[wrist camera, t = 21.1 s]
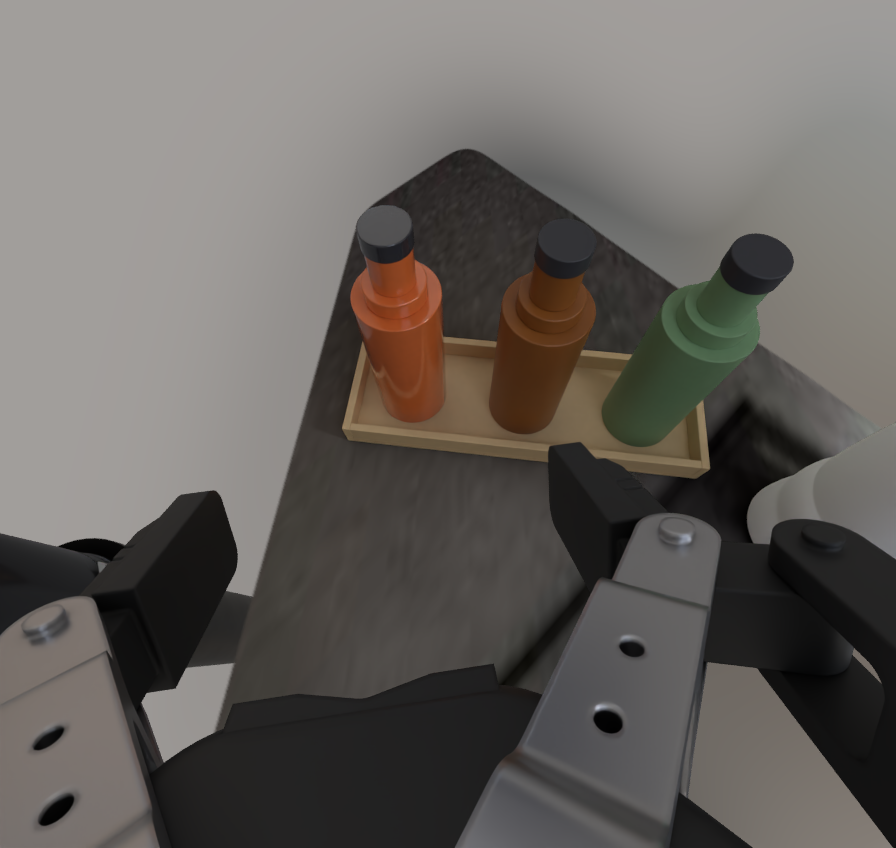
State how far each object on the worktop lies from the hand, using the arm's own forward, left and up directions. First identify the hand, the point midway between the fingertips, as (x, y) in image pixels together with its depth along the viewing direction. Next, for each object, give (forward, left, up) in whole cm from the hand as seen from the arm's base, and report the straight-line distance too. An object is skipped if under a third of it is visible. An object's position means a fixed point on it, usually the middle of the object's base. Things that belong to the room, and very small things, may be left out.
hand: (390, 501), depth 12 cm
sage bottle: (+20, +4, -24) cm, 31 cm away
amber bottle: (+13, +9, -24) cm, 29 cm away
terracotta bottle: (+6, +15, -24) cm, 28 cm away
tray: (+13, +9, -24) cm, 29 cm away
